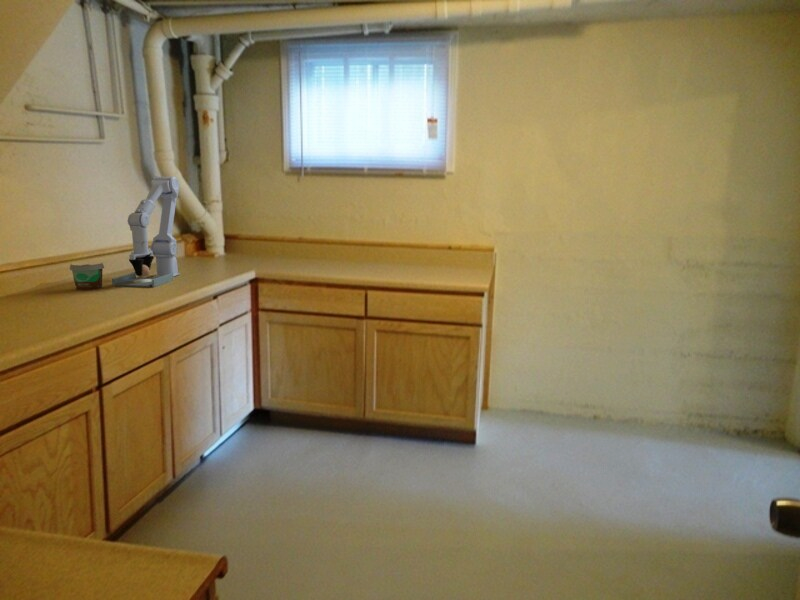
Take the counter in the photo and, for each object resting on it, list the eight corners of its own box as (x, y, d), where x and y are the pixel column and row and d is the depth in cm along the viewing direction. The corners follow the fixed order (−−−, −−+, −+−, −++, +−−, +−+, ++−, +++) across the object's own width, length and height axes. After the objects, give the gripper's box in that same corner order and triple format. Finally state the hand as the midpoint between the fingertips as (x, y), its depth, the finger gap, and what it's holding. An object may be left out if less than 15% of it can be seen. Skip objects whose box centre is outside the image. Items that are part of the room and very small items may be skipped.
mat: (139, 278, 253) (139, 276, 253) (170, 279, 251) (169, 277, 251) (115, 286, 235) (115, 284, 235) (148, 287, 234) (148, 285, 234)
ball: (142, 276, 246) (141, 263, 245) (153, 277, 245) (152, 264, 244) (133, 278, 241) (132, 265, 240) (144, 279, 240) (143, 266, 238)
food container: (68, 291, 225) (65, 266, 223) (72, 288, 231) (69, 263, 228) (102, 290, 228) (100, 265, 226) (106, 287, 234) (103, 262, 232)
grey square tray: (133, 278, 252) (133, 272, 251) (173, 280, 250) (172, 273, 250) (112, 285, 237) (111, 278, 236) (154, 287, 235) (153, 279, 234)
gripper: (140, 239, 247) (143, 271, 250) (121, 243, 233) (124, 277, 236) (156, 240, 246) (158, 271, 249) (137, 244, 232) (140, 277, 235)
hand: (143, 274), depth 243 cm, fingers closed on ball, 5 cm apart
